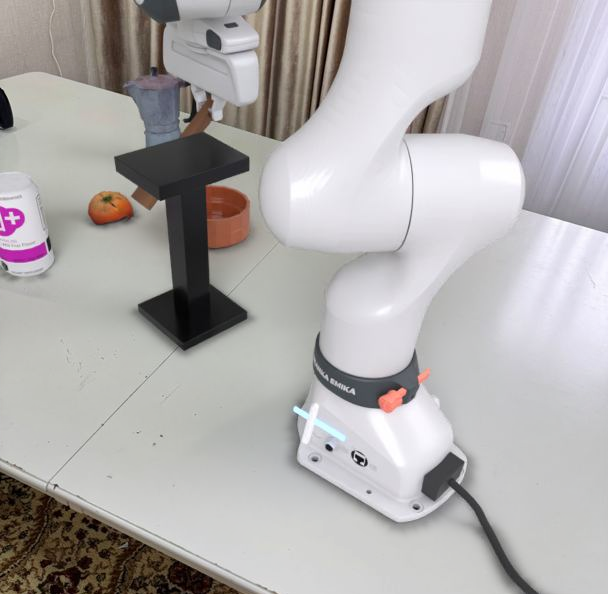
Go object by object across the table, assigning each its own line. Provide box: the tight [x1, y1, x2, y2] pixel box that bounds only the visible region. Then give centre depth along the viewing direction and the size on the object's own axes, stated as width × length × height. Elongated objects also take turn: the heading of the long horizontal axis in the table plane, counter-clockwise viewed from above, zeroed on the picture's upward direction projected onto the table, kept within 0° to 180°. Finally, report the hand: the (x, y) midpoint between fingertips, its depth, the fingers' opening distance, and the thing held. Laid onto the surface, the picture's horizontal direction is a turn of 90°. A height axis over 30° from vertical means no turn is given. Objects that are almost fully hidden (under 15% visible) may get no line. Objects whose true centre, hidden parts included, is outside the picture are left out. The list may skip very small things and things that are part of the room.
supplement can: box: [0, 171, 55, 278], centre depth 99 cm, size 8×8×15 cm
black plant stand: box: [113, 131, 251, 352], centre depth 88 cm, size 12×14×26 cm
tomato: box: [87, 190, 135, 226], centre depth 117 cm, size 8×7×7 cm
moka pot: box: [122, 66, 197, 148], centre depth 130 cm, size 10×15×20 cm, turn 107°
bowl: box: [206, 184, 251, 249], centre depth 114 cm, size 13×13×6 cm
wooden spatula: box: [130, 95, 214, 211], centre depth 101 cm, size 4×22×2 cm
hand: (209, 116), depth 102 cm, fingers closed on wooden spatula, 2 cm apart
